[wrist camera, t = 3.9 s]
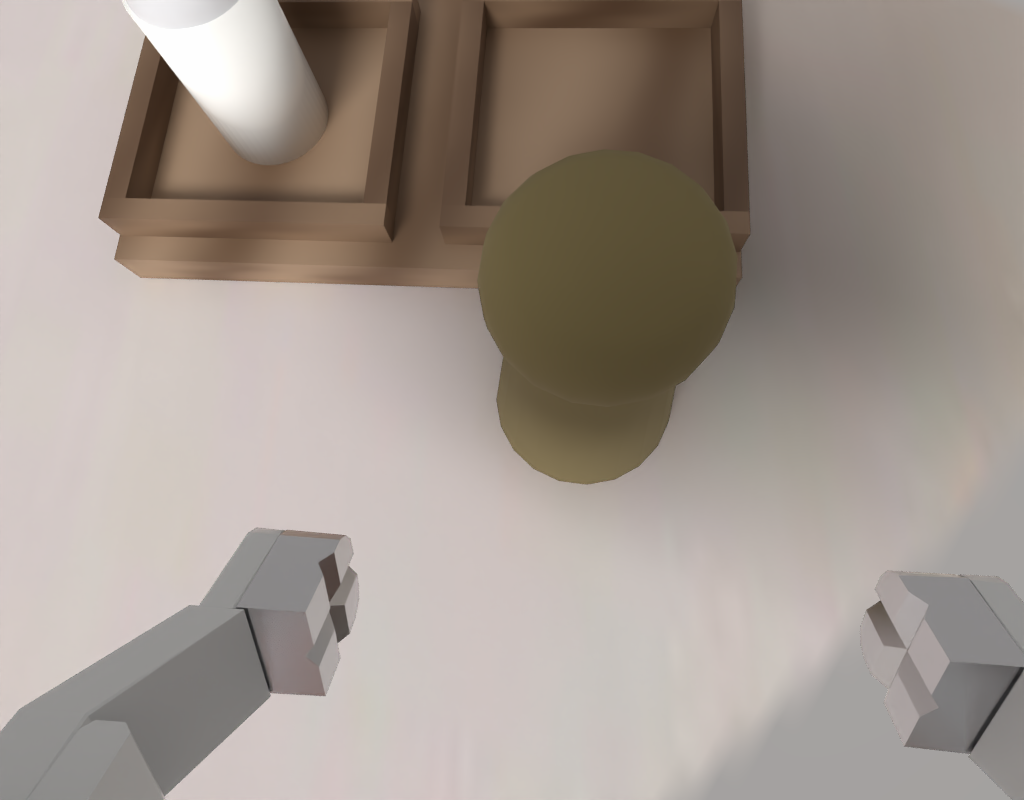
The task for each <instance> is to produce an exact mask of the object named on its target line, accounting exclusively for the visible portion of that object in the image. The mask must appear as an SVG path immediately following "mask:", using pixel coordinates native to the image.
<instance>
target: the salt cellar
mask: <svg viewBox="0 0 1024 800" xmlns="http://www.w3.org/2000/svg"><path fill="white" fill-rule="evenodd" d="M122 2H123V5H124V6H125V8H126V10H127V12H128V13H129V14H130V16H131V17H132V18H133V19H134V21H135V22H136V23H137V25H138V26H139V27H140V29H141V30H142V31H143V33H144V34H145V35H146V36H147V38H148V39H149V40H150V42H151V43H152V44H153V46H154V47H155V48H156V49H157V51H158V52H159V53H160V55H161V56H162V57H163V59H164V60H165V61H166V63H167V64H168V65H169V66H170V68H171V69H172V70H173V72H174V73H175V74H176V76H177V77H178V78H179V80H180V81H181V82H182V83H183V85H184V86H185V87H186V89H187V90H188V91H189V93H190V94H191V95H192V96H193V98H194V99H195V100H196V102H197V103H198V104H199V106H200V107H201V108H202V110H203V111H204V112H205V113H206V115H207V116H208V117H209V119H210V120H211V121H212V123H213V124H214V125H215V126H216V128H217V129H218V130H219V132H220V133H221V134H222V136H223V137H224V138H225V140H226V141H227V142H228V143H229V145H230V146H231V147H232V149H233V150H234V151H235V152H236V153H237V154H238V155H239V156H241V157H242V158H243V159H245V160H247V161H249V162H252V163H255V164H260V165H278V164H283V163H287V162H290V161H293V160H295V159H297V158H299V157H301V156H302V155H304V154H305V153H307V152H308V151H309V150H310V149H312V148H313V147H314V146H315V145H316V143H317V142H318V141H319V140H320V138H321V137H322V135H323V133H324V131H325V128H326V126H327V122H328V106H327V102H326V100H325V97H324V95H323V93H322V91H321V89H320V87H319V85H318V83H317V81H316V79H315V77H314V75H313V73H312V71H311V69H310V66H309V64H308V62H307V60H306V58H305V56H304V54H303V52H302V50H301V48H300V46H299V44H298V42H297V40H296V38H295V36H294V34H293V31H292V29H291V27H290V25H289V23H288V21H287V19H286V17H285V15H284V13H283V11H282V9H281V7H280V5H279V3H278V1H277V0H122Z"/></svg>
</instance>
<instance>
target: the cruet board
mask: <svg viewBox="0 0 1024 800" xmlns="http://www.w3.org/2000/svg"><path fill="white" fill-rule="evenodd" d="M277 1H278V3H279V5H280V7H281V9H282V11H283V13H284V15H285V17H286V19H287V21H288V23H289V25H290V27H291V29H292V31H293V34H294V36H295V38H296V40H297V42H298V44H299V46H300V48H301V50H302V52H303V54H304V56H305V58H306V60H307V62H308V64H309V66H310V69H311V71H312V73H313V75H314V77H315V79H316V81H317V83H318V85H319V87H320V89H321V91H322V93H323V95H324V97H325V100H326V102H327V106H328V122H327V126H326V128H325V131H324V133H323V135H322V137H321V138H320V140H319V141H318V142H317V143H316V145H315V146H314V147H313V148H312V149H310V150H309V151H308V152H307V153H305V154H304V155H302V156H301V157H299V158H297V159H295V160H293V161H290V162H287V163H283V164H278V165H260V164H255V163H252V162H249V161H247V160H245V159H243V158H242V157H241V156H239V155H238V154H237V153H236V152H235V151H234V150H233V149H232V147H231V146H230V145H229V143H228V142H227V141H226V140H225V138H224V137H223V136H222V134H221V133H220V132H219V130H218V129H217V128H216V126H215V125H214V124H213V123H212V121H211V120H210V119H209V117H208V116H207V115H206V113H205V112H204V111H203V110H202V108H201V107H200V106H199V104H198V103H197V102H196V100H195V99H194V98H193V96H192V95H191V94H190V93H189V91H188V90H187V89H186V87H185V86H184V85H183V83H182V82H181V81H180V80H179V78H178V77H177V76H176V74H175V73H174V72H173V70H172V69H171V68H170V66H169V65H168V64H167V63H166V61H165V60H164V59H163V57H162V56H161V55H160V53H159V52H158V51H157V49H156V48H155V47H154V46H153V44H152V43H151V42H150V40H149V39H148V38H147V36H146V35H145V39H144V42H143V46H142V50H141V54H140V58H139V62H138V66H137V70H136V74H135V77H134V81H133V85H132V89H131V93H130V97H129V101H128V105H127V109H126V112H125V116H124V120H123V124H122V128H121V132H120V136H119V140H118V144H117V147H116V151H115V155H114V159H113V163H112V167H111V171H110V175H109V179H108V182H107V186H106V190H105V194H104V198H103V202H102V206H101V210H100V214H99V219H100V220H102V221H103V222H104V223H106V224H107V225H108V226H110V227H111V228H112V229H113V230H115V231H116V232H117V233H119V234H120V238H119V242H118V246H117V250H116V254H115V258H114V259H115V260H116V261H118V262H119V263H120V264H122V265H123V266H125V267H126V268H128V269H129V270H130V271H132V272H133V273H135V274H136V275H138V276H139V277H140V278H171V279H202V280H234V281H265V282H297V283H328V284H360V285H391V286H423V287H454V288H478V282H477V279H478V273H479V267H480V261H481V255H482V249H483V244H484V240H485V237H486V233H487V231H488V229H489V228H490V226H491V224H492V222H493V220H494V218H495V216H496V215H497V213H498V211H499V209H500V207H501V205H502V204H503V202H504V201H505V200H506V199H507V198H508V197H509V196H510V195H511V194H512V193H513V192H514V191H515V190H516V189H517V188H518V187H519V186H520V185H521V184H523V183H524V182H525V181H526V180H527V179H528V178H529V177H530V176H531V175H533V174H535V173H536V172H538V171H540V170H542V169H544V168H546V167H548V166H550V165H552V164H554V163H556V162H558V161H560V160H562V159H564V158H566V157H568V156H571V155H576V154H581V153H586V152H591V151H597V150H602V149H607V150H619V151H632V152H640V153H643V154H645V155H648V156H651V157H653V158H656V159H659V160H662V161H664V162H667V163H670V164H672V165H674V166H675V167H676V168H678V169H679V170H680V171H682V172H683V173H684V174H686V175H687V176H688V177H690V178H691V179H692V180H694V181H695V182H696V183H698V184H699V185H700V186H701V187H702V188H703V189H704V190H705V192H706V193H707V194H708V196H709V197H710V199H711V200H712V201H713V203H714V204H715V206H716V207H717V208H718V210H719V211H720V213H721V214H722V215H723V217H724V218H725V219H726V221H727V223H728V227H729V230H730V233H731V237H732V240H733V243H734V247H735V250H736V253H737V256H738V258H737V276H736V286H737V284H738V283H739V281H740V280H741V278H742V263H741V249H742V247H743V245H744V244H745V242H746V240H747V239H748V237H749V235H750V208H749V181H748V154H747V127H746V100H745V73H744V46H743V18H742V0H277Z"/></svg>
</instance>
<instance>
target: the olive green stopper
mask: <svg viewBox="0 0 1024 800" xmlns="http://www.w3.org/2000/svg"><path fill="white" fill-rule="evenodd" d="M737 258H738V256H737V253H736V250H735V247H734V243H733V240H732V237H731V233H730V230H729V227H728V223H727V221H726V219H725V218H724V217H723V215H722V214H721V213H720V211H719V210H718V208H717V207H716V206H715V204H714V203H713V201H712V200H711V199H710V197H709V196H708V194H707V193H706V192H705V190H704V189H703V188H702V187H701V186H700V185H699V184H698V183H696V182H695V181H694V180H692V179H691V178H690V177H688V176H687V175H686V174H684V173H683V172H682V171H680V170H679V169H678V168H676V167H675V166H674V165H672V164H670V163H667V162H664V161H662V160H659V159H656V158H653V157H651V156H648V155H645V154H643V153H640V152H632V151H619V150H607V149H602V150H597V151H591V152H586V153H581V154H576V155H571V156H568V157H566V158H564V159H562V160H560V161H558V162H556V163H554V164H552V165H550V166H548V167H546V168H544V169H542V170H540V171H538V172H536V173H535V174H533V175H531V176H530V177H529V178H528V179H527V180H526V181H525V182H524V183H523V184H521V185H520V186H519V187H518V188H517V189H516V190H515V191H514V192H513V193H512V194H511V195H510V196H509V197H508V198H507V199H506V200H505V201H504V202H503V204H502V205H501V207H500V209H499V211H498V213H497V215H496V216H495V218H494V220H493V222H492V224H491V226H490V228H489V229H488V231H487V233H486V237H485V240H484V244H483V249H482V255H481V261H480V267H479V273H478V279H477V282H478V288H479V293H480V299H481V305H482V310H483V316H484V320H485V323H486V326H487V329H488V330H489V332H490V334H491V336H492V337H493V339H494V341H495V343H496V345H497V346H498V348H499V350H500V352H501V353H502V355H503V362H502V368H501V374H500V381H499V387H498V394H497V406H498V412H499V418H500V423H501V427H502V429H503V431H504V433H505V435H506V436H507V438H508V440H509V442H510V444H511V446H512V448H513V449H514V451H515V452H517V453H518V454H519V455H520V456H521V457H522V458H523V459H524V460H525V461H526V462H527V463H528V464H529V465H530V466H531V467H532V468H533V469H535V470H537V471H540V472H542V473H544V474H546V475H548V476H550V477H552V478H554V479H556V480H559V481H565V482H572V483H580V484H592V483H598V482H603V481H608V480H614V479H616V478H618V477H620V476H622V475H624V474H625V473H627V472H629V471H631V470H633V469H635V468H636V467H638V466H640V465H641V463H642V462H643V461H644V460H645V459H646V458H647V457H648V456H649V455H650V454H651V453H652V452H653V450H654V449H655V448H656V447H657V446H658V444H659V442H660V439H661V437H662V435H663V433H664V430H665V428H666V426H667V423H668V421H669V416H670V411H671V406H672V401H673V396H674V391H675V386H676V385H677V384H679V383H681V382H683V381H685V380H686V379H687V378H688V377H689V376H690V374H691V373H692V372H693V371H694V370H695V369H696V368H697V367H698V366H699V365H700V364H701V363H702V362H703V361H704V359H705V358H706V357H707V356H708V355H709V354H710V353H711V352H712V351H713V349H714V348H715V347H716V346H717V344H718V343H719V341H720V339H721V337H722V335H723V332H724V330H725V328H726V325H727V323H728V321H729V318H730V316H731V314H732V311H733V309H734V305H735V294H736V276H737Z"/></svg>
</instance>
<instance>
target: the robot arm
mask: <svg viewBox="0 0 1024 800" xmlns="http://www.w3.org/2000/svg"><path fill="white" fill-rule="evenodd" d="M353 554H354V553H353V548H352V544H351V539H350V538H349V537H348V536H346V535H338V534H327V533H316V532H305V531H294V530H286V531H285V530H275V529H264V528H255V529H254V530H252V531H250V532H249V533H248V534H247V535H246V536H245V538H244V539H243V541H242V542H241V544H240V545H239V547H238V548H237V550H236V551H235V553H234V554H233V556H232V557H231V559H230V560H229V562H228V563H227V565H226V566H225V568H224V569H223V571H222V572H221V574H220V575H219V577H218V578H217V580H216V581H215V583H214V584H213V586H212V587H211V589H210V590H209V592H208V593H207V594H206V596H205V597H204V599H203V600H202V602H201V603H200V605H199V606H194V605H189V606H187V607H186V608H184V609H183V610H181V611H179V612H178V613H176V614H174V615H173V616H171V617H169V618H168V619H166V620H165V621H163V622H161V623H160V624H158V625H156V626H155V627H153V628H151V629H150V630H148V631H147V632H145V633H143V634H142V635H140V636H138V637H137V638H135V639H133V640H132V641H130V642H129V643H127V644H125V645H124V646H122V647H120V648H119V649H117V650H115V651H114V652H112V653H111V654H109V655H107V656H106V657H104V658H102V659H101V660H99V661H97V662H96V663H94V664H93V665H91V666H89V667H88V668H86V669H84V670H83V671H81V672H79V673H78V674H76V675H75V676H73V677H71V678H70V679H68V680H66V681H65V682H63V683H61V684H60V685H58V686H57V687H55V688H53V689H52V690H50V691H48V692H47V693H45V694H43V695H42V696H40V697H39V698H37V699H35V700H34V701H32V702H30V703H29V704H27V705H25V706H24V707H22V708H21V709H19V710H18V711H17V713H16V714H15V715H14V716H13V717H12V719H11V720H10V721H9V722H8V723H7V725H6V726H5V727H4V728H3V729H2V731H1V732H0V800H166V799H165V797H164V796H165V795H166V794H168V793H169V792H170V791H171V790H172V789H173V788H174V787H175V786H176V785H177V784H178V783H179V782H180V781H181V780H182V779H183V778H185V777H186V776H187V775H188V774H189V773H190V772H191V771H192V770H193V769H194V768H195V767H196V766H197V765H198V764H199V763H200V762H202V761H203V760H204V759H205V758H206V757H207V756H208V755H209V754H210V753H211V752H212V751H213V750H214V749H215V748H216V747H217V746H218V745H220V744H221V743H222V742H223V741H224V740H225V739H226V738H227V737H228V736H229V735H230V734H231V733H232V732H233V731H234V730H235V729H237V728H238V727H239V726H240V725H241V724H242V723H243V722H244V721H245V720H246V719H247V718H248V717H249V716H250V715H251V714H252V713H254V712H255V711H256V710H257V709H258V708H259V707H260V706H261V705H262V704H263V703H264V702H265V701H266V700H267V699H268V698H269V697H270V693H278V694H296V695H313V696H326V694H327V691H328V689H329V686H330V683H331V681H332V678H333V676H334V673H335V671H336V668H337V665H338V663H339V660H340V653H339V648H338V642H340V641H341V640H342V639H344V638H345V637H346V636H347V635H349V634H350V632H351V629H352V626H353V623H354V620H355V618H356V612H357V607H358V601H359V583H358V576H357V573H355V572H354V571H353V570H352V569H351V568H350V567H349V563H350V561H351V559H352V556H353ZM875 591H876V592H877V594H878V596H879V598H880V600H881V601H879V602H878V603H876V604H875V605H873V606H872V607H870V608H869V609H867V610H866V612H865V615H864V618H863V620H862V623H861V626H860V644H861V649H862V653H863V657H864V660H865V662H866V665H867V667H868V669H869V671H870V674H871V675H872V676H873V677H874V678H876V679H877V680H878V681H879V682H880V683H881V684H883V685H884V686H885V687H886V688H887V689H888V692H887V694H886V697H885V700H884V704H885V707H886V709H887V711H888V713H889V715H890V717H891V719H892V722H893V724H894V726H895V728H896V730H897V732H898V734H899V737H900V739H901V741H902V743H903V745H904V746H905V747H913V748H922V749H930V750H939V751H948V752H957V753H966V754H970V755H969V758H970V759H971V760H972V761H973V762H974V763H975V764H976V765H977V766H978V767H979V768H980V769H981V770H982V771H983V772H984V773H985V774H986V775H987V776H988V777H989V778H990V779H991V780H992V781H993V782H994V783H996V785H997V786H998V787H1000V788H1001V789H1002V790H1003V791H1004V792H1005V793H1006V794H1007V795H1008V796H1009V797H1010V798H1011V799H1012V800H1024V603H1023V601H1022V600H1021V599H1020V598H1019V597H1018V595H1017V594H1016V593H1015V591H1014V590H1013V589H1012V588H1011V586H1010V585H1009V584H1008V583H1007V582H1005V581H1004V580H1002V579H1001V578H999V577H997V576H979V575H954V574H938V573H921V572H903V571H886V572H885V573H884V574H883V575H882V576H881V577H880V578H879V581H878V583H877V585H876V587H875Z"/></svg>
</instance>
